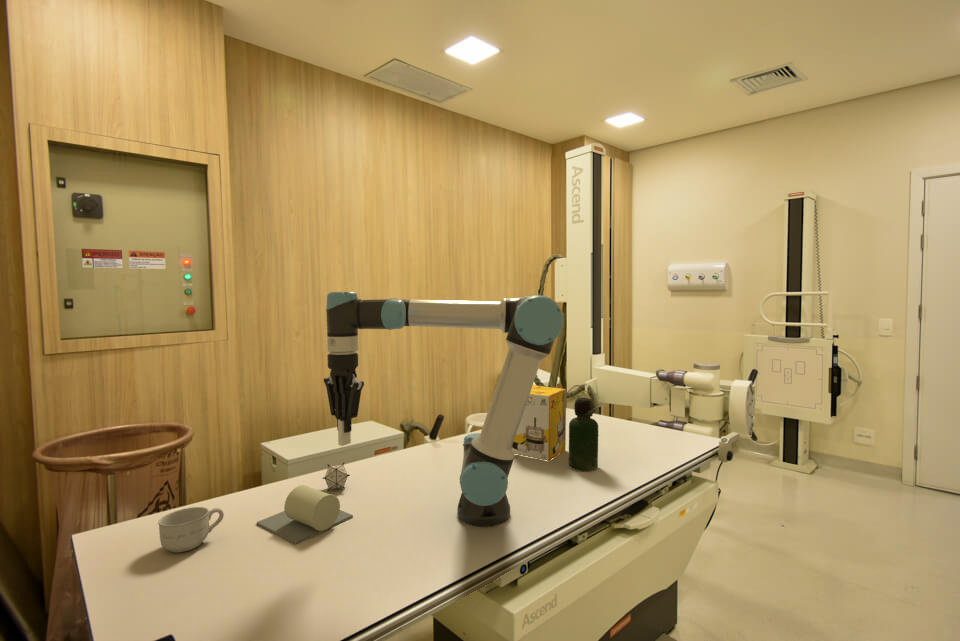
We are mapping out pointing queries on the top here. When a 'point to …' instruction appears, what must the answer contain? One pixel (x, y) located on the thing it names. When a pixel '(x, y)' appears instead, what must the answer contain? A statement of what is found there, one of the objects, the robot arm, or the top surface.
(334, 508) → the can
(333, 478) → the game die
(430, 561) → the top surface
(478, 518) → the robot arm
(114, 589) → the top surface
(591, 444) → the green bottle
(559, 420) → the packaging box
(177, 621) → the top surface
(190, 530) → the teacup
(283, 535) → the mat
